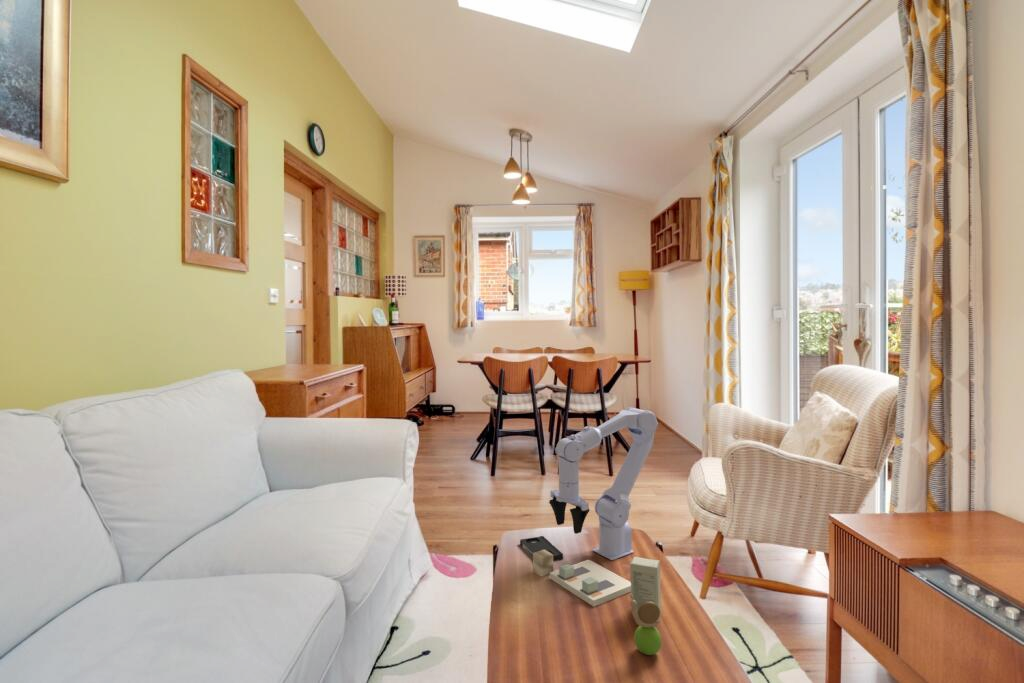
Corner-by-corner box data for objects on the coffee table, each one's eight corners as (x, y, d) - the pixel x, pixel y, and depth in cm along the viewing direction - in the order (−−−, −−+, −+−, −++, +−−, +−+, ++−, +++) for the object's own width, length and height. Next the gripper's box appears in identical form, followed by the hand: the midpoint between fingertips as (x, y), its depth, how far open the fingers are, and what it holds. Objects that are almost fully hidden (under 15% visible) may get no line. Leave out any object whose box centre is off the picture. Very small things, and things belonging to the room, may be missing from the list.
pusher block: (544, 567, 140) (544, 549, 140) (553, 572, 136) (553, 554, 136) (532, 571, 137) (532, 552, 137) (541, 576, 134) (541, 558, 134)
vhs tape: (519, 545, 155) (519, 539, 155) (542, 542, 158) (542, 535, 158) (538, 565, 142) (538, 558, 142) (563, 561, 144) (563, 554, 144)
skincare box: (661, 612, 116) (661, 560, 116) (658, 621, 113) (658, 568, 112) (633, 606, 119) (633, 555, 119) (630, 615, 115) (630, 562, 115)
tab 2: (591, 586, 125) (591, 576, 125) (597, 590, 123) (597, 580, 123) (582, 589, 124) (582, 580, 124) (588, 593, 122) (588, 584, 122)
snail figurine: (625, 645, 104) (625, 588, 104) (655, 643, 105) (655, 586, 104) (634, 662, 99) (634, 601, 99) (665, 660, 99) (665, 600, 99)
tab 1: (567, 572, 133) (567, 563, 133) (573, 575, 131) (573, 566, 131) (559, 575, 131) (559, 566, 131) (565, 578, 129) (565, 569, 129)
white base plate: (588, 564, 141) (588, 559, 141) (634, 590, 127) (634, 583, 127) (549, 578, 133) (549, 572, 133) (593, 606, 119) (593, 600, 119)
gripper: (542, 477, 147) (542, 523, 147) (574, 489, 135) (575, 539, 135) (560, 473, 151) (561, 518, 151) (594, 485, 139) (594, 534, 139)
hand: (568, 528), depth 143 cm, fingers open, 7 cm apart
